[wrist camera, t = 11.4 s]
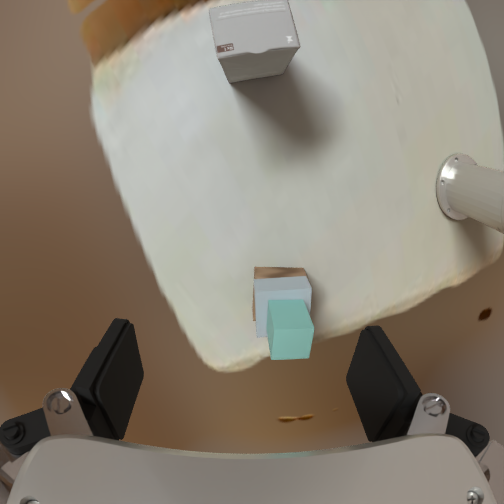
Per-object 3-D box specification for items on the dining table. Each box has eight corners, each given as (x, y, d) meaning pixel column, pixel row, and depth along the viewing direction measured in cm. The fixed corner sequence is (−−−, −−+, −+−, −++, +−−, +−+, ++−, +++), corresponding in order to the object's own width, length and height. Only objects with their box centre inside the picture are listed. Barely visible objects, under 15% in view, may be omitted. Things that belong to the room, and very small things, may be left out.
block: (303, 299, 41) (314, 328, 34) (299, 327, 43) (308, 358, 36) (268, 299, 40) (274, 329, 34) (266, 328, 42) (271, 359, 36)
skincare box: (274, 39, 34) (291, -9, 19) (283, 80, 37) (306, 47, 22) (218, 47, 34) (206, 1, 20) (226, 88, 37) (217, 58, 22)
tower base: (302, 267, 48) (307, 277, 44) (297, 308, 51) (301, 320, 47) (254, 266, 47) (255, 276, 44) (252, 308, 50) (253, 320, 47)
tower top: (306, 275, 44) (311, 288, 40) (304, 319, 47) (308, 333, 43) (253, 279, 44) (254, 291, 40) (255, 322, 47) (256, 337, 43)
